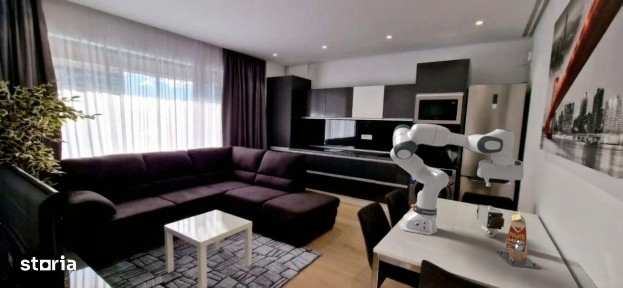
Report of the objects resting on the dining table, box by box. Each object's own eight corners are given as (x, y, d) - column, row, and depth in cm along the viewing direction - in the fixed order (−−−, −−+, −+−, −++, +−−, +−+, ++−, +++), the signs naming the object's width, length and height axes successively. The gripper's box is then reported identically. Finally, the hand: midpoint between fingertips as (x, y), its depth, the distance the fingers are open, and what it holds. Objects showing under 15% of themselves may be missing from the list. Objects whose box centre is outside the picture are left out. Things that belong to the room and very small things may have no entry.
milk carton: (504, 243, 141) (508, 208, 139) (526, 248, 135) (530, 213, 133) (504, 249, 134) (508, 213, 132) (526, 255, 128) (531, 217, 126)
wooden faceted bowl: (504, 256, 124) (505, 246, 124) (513, 253, 127) (514, 244, 126) (520, 263, 118) (522, 253, 117) (529, 261, 120) (531, 251, 120)
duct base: (511, 265, 117) (513, 245, 116) (496, 252, 129) (498, 234, 128) (539, 269, 116) (542, 248, 115) (522, 255, 128) (524, 236, 127)
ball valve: (504, 242, 141) (508, 212, 140) (488, 240, 143) (491, 210, 141) (489, 229, 159) (492, 202, 157) (474, 227, 160) (477, 200, 159)
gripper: (482, 160, 126) (479, 187, 128) (527, 162, 123) (523, 190, 125) (476, 158, 132) (473, 184, 134) (518, 160, 130) (515, 186, 131)
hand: (498, 187), depth 129 cm, fingers open, 8 cm apart
